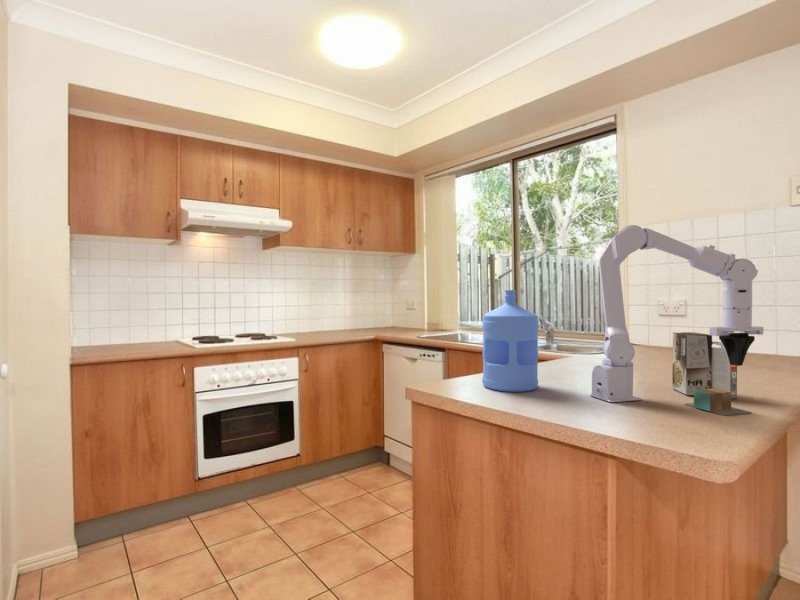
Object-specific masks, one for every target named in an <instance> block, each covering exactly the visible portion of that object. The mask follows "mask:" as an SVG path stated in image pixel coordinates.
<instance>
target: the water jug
mask: <svg viewBox="0 0 800 600" xmlns="http://www.w3.org/2000/svg"><path fill="white" fill-rule="evenodd" d="M504 293H505V294H504V304H502V305H501V306H498V307H497V308H495V309H492V310H490V311H488V312H487V313H484V314H483V317H482V318H483V320H482V329H483V330H482V331H483V332H482V333H483V334H482V339H483V341H482V346H483V347H482V361H483V362H482V366H483V367H482V379H481V380H482V381H481V382H482V385H483V386H484V387H485V388H488V389H490V390H493V391H498V392H507V393H522V392H523V393H524V392H525V393H526V392H531V391H534V390H536V389H537V388H538V386H539V380H538V376H539V375H538V374H539V373H538V372H539V371H538V370H539V369H538V366H539V365H538V363H539V362H538V361H539V349H538V348H539V346H538V343H539V342H538V340H539V338H538V337H539V335H538V334H539V316H538V315H537V314H536V313H533V312H532V311H530V310H528V309H526V308H524V307H522V306H521V305H520V306H519V305H518V304H517V300H516V299H517V295H516V293H517V290H516V289H515V290H514V289H508V290H507V289H504Z"/></svg>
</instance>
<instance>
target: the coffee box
mask: <svg viewBox="0 0 800 600" xmlns="http://www.w3.org/2000/svg"><path fill="white" fill-rule="evenodd" d="M712 341H713V336H712V335H709V333H701V332H692V331H691V332H687V331H686V332H681V331H680V332H672V385H671V387H672V389H673V390H675V391H676V392H679V393H681V394H683V395H686V396H694V390H701V389H711V371H712V347H713V344H712Z"/></svg>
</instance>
